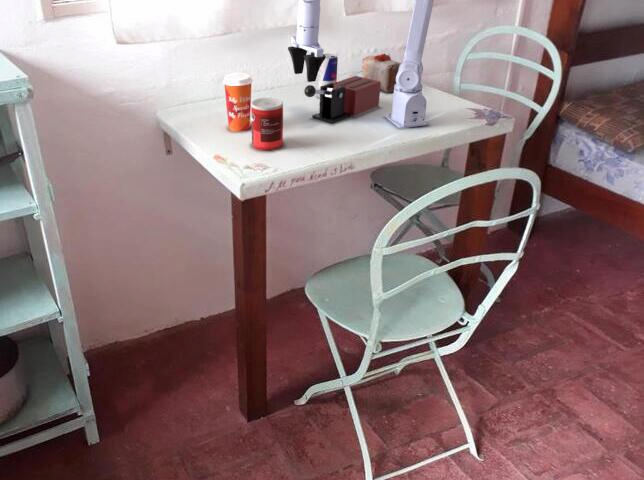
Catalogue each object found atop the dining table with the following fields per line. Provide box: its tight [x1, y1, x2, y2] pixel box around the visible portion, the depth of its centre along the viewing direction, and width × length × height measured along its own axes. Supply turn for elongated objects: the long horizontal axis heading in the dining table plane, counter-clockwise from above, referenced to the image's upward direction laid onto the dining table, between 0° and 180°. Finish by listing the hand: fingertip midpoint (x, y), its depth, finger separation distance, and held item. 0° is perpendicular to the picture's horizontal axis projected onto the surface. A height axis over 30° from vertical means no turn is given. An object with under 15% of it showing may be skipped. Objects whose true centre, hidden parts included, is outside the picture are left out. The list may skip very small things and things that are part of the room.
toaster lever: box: [303, 84, 335, 98], centre depth 176 cm, size 12×3×3 cm, turn 133°
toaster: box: [334, 75, 381, 118], centre depth 186 cm, size 11×9×8 cm
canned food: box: [250, 97, 284, 152], centre depth 165 cm, size 8×8×11 cm
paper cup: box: [222, 72, 254, 132], centre depth 175 cm, size 8×8×14 cm
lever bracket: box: [311, 83, 352, 125], centre depth 180 cm, size 8×7×9 cm
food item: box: [361, 53, 401, 94], centre depth 202 cm, size 14×8×10 cm, turn 29°
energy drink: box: [317, 53, 339, 98], centre depth 195 cm, size 5×5×12 cm
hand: (304, 77), depth 180 cm, fingers open, 7 cm apart
